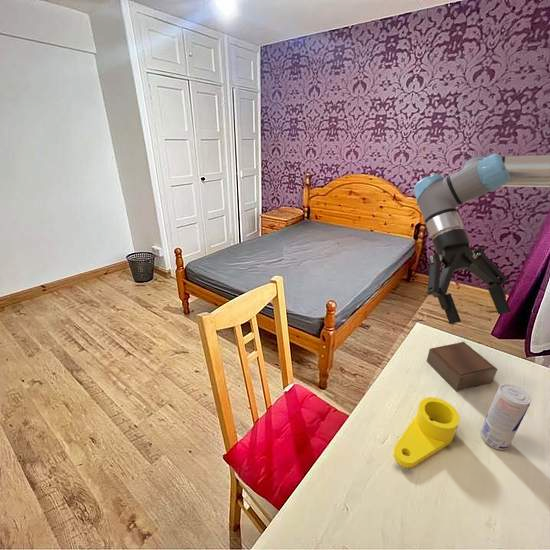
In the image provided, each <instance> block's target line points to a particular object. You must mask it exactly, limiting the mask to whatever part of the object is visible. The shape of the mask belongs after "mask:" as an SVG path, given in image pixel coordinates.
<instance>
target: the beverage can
mask: <svg viewBox="0 0 550 550" xmlns="http://www.w3.org/2000/svg"><path fill="white" fill-rule="evenodd" d="M531 403H532V397H531V395H530V394H529V393H528V392H527V391H526V390H524V389H523V388H521V387H519V386H517V385H515V384H510V383H502V384H500V385H499V387H498V388H497V390H496V392H495V395H494V398H493V400H492V402H491V405H490V406H489V410H488V412H487V415H486V416H485V419H484V422H483V424H482V425H481V429H480V432H479V434H480V437H481V439H482V441H484V443H486V444H487V445H488V446H490V447H491V448H493V449H495V450H500V451H503V450H504V451H505V450H507V449H508V448H509V447H510V445H511V443H512V441H513V439H514V437H515V435H516V433H517V431H518V430H519V427H520V425H521V423H522V421H523V420H524V418H525V415H526V413H527V411H528V409H529V407H530V406H531Z"/></svg>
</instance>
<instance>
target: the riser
mask: <svg viewBox="0 0 550 550" xmlns="http://www.w3.org/2000/svg"><path fill="white" fill-rule="evenodd" d="M426 363H428V365H430V367H431V368H432V369H433V370H434V371H435V372H436V373H437V374H438V375H439V376H440V377H441V378H442V379H443V380H444V381H445V382H446V383H447V384H448V385H449V386H450V387H451V388H452V390H454V391H455V392H459V391H463V390H466V389H471V388H475V387H479V386H483V385H488V384H491V383H492V384H493V382H494V380H495V377H496V374H497V372H498V368H497V367H496V366H494V365H493V364H492V363H491V362H490V361H488V360H487V359H486V358H485V357H483V355H481V354H480V353H478V352H477V351H476V350H474V349H473V347H471V346H470V345H469V344H467V343H466V342H465V341H461V342H455V343H450V344H446V345H441V346H436V347H431V348H429V350H428V354H427V358H426Z"/></svg>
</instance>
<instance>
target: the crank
mask: <svg viewBox="0 0 550 550" xmlns="http://www.w3.org/2000/svg"><path fill="white" fill-rule="evenodd" d="M459 423H460V415H459V412H458V410H456V408H455V407H454V406H453V405H451V403H449V402H447V401H446V400H444V399H442V398H438V397H431V396H430V397H424V398H423V399H422V400H420V402H419V404H418V408H417V411H416V414H415V417H414V418H413V419H412V421H411V422H410V423H409V424H408V426H407V428H406V429H405V430H404V432H403V434H401V437H400V438H399V440H397V442H396V444H395V445H394V447H393V452H392V454H393V458H394V461H395V462H396V463H397V464H398V465H400V467H403V468H406V469H412V468H414V467H415V466H417V465H419V464H421V463H422V462H423V461H425V460H426V459H428V458H429V457H431V456H433V455H434V454H436V453H438V452H439V451H440V450H442V449H444V448H445V447H447V446H449V445H450V444H451V443H452V442H453V440H454V437H455V434H456V432H457V429H458V426H459Z"/></svg>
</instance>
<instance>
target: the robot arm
mask: <svg viewBox="0 0 550 550" xmlns="http://www.w3.org/2000/svg"><path fill="white" fill-rule="evenodd" d="M501 187H502V188H504V187H505V188H507V187H509V188H510V187H511V188H514V187H515V188H550V154H541V155H539V154H538V155H536V154H535V155H505V156H501V155H500V154H499V153H492V154H491V155H488V156H487V155H484V154H483V155H481V154H480V155H475V156H472V157H471V158H469V159H468V160H466V161H465V163H464V164H463V165H462V167H461V169H460V170H458V171H457V172H455V173H453V174H451V175H450V176H449V175H448V176H447V177H445V178H444V176H443V175H441V174H438V173H435V174H434V173H433V174H430V175H429V176H425V177H423V178H422V179H420V180H419V181H418V182H416V184H415V185H414V187H413V194H414V196H415V200H416V204H417V206H418V209H419V210H420V213H421V215H422V218H423V221H424V223H425V226H426V229H427V232H428V235H429V237H430V239H432V241H431V243H432V246H433V248H434V251H435V253H434V254H432V255H430V256H429V257H428V258H427V261H428V264H429V268H428V279H427V289H426V290H427V291H426V293H427V295H428V296H433V298H435V299H436V298H437V299H438V302H439V305H440V308H441V310H442V311H444V312H445V315H446V318H447V320H448V323H449V325H454V324H457V323H458V324H459V323H461V322H462V320H461V318H460V315H459V312H458V309H457V306H456V304H455V301H454V299H453V297H452V293H451V292H450V293H447V292H448V289H449V287H450V284H451V281H452V278H453V275H454V273H455V272H457V271H464V270H465V271H467V272H470V273H472V274H473V275H475V276H476V277H477V278H479V279H480V280H481V281H482V282H483V283H485V284H486V285H488V288H487V291H488V292H489V295H490V297H491V300H492V303H493V305H494V307H495V309H496V312H497V315H498V316H499V315H503V314H508V313H511V312H512V310H511V308H510V305H509V303H508V301H507V295H506V293H505V290H504V288H503V286H502V285H504V284H505V283H506V282H507V281H508V278H507V276H506V275H505V274H504V273H503V272H502V270H501V269H499V267H497V266H496V264H495V263H494V262H493V261H492V260H491V259H490V258H489V257H488V256H487V254H486V253H485V251H484V249H483V248H482V247H481V246H479V247H477V248H475V249H473V250H472V249H471V248H470V247H469V246H470V243H471V242H470V241H471V240H470V239H469V236H468V233H467V231H466V229H464V223H463V221H462V219H461V217H460V215H459V212H458V210H457V207H458V206H461V205H463V204H464V203H467V202H469V201H471V200H475V199H476V198H479V197H480V196H483V195H485V194H487V193H490V192H492V191H497V189H498V188H501ZM442 264H443V266H442ZM441 268H442V269H441Z"/></svg>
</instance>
